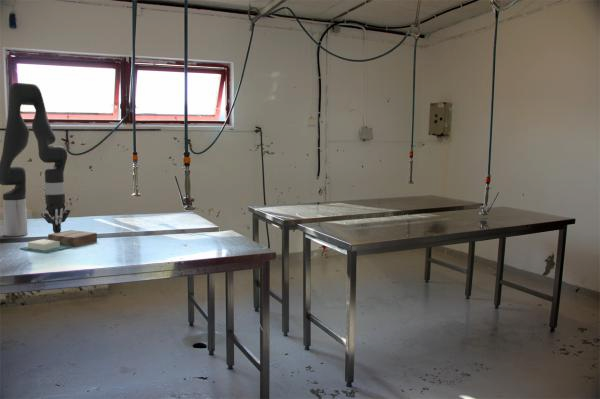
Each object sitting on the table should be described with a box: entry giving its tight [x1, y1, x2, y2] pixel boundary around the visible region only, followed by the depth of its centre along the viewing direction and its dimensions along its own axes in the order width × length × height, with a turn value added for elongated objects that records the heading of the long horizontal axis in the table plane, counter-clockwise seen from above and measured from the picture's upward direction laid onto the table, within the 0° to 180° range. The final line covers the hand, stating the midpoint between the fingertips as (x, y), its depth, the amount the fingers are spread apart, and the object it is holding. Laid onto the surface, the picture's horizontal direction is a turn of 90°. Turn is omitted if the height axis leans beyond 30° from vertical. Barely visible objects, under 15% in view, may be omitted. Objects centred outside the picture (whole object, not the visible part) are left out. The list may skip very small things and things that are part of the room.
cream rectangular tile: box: [27, 238, 60, 250], centre depth 192 cm, size 10×7×2 cm
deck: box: [47, 229, 98, 248], centre depth 205 cm, size 16×12×4 cm
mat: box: [19, 245, 74, 254], centre depth 193 cm, size 16×12×1 cm
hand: (57, 232), depth 199 cm, fingers closed
